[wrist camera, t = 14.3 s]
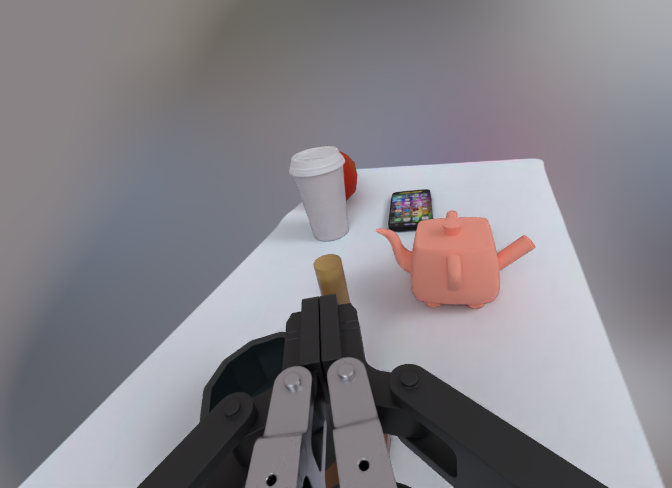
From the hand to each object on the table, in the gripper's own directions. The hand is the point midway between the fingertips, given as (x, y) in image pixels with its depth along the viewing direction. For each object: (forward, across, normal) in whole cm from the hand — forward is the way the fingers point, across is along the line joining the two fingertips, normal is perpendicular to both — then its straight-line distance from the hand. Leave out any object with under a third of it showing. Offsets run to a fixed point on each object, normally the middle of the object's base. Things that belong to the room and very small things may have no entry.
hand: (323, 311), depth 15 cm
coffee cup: (+46, +1, +21) cm, 51 cm away
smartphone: (+48, -14, +21) cm, 54 cm away
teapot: (+24, -14, +21) cm, 35 cm away
